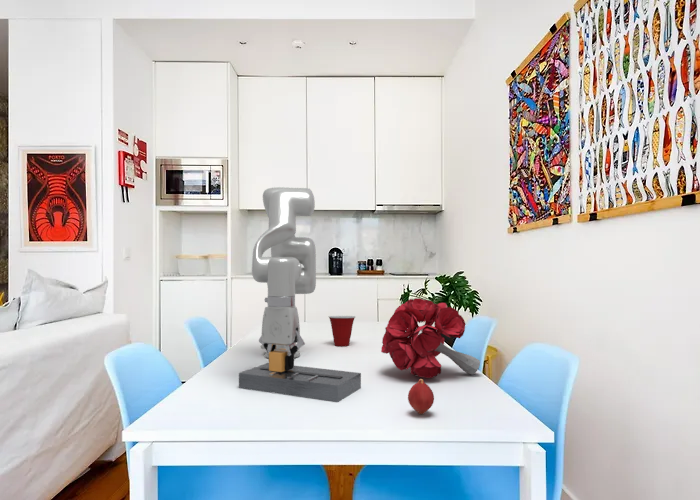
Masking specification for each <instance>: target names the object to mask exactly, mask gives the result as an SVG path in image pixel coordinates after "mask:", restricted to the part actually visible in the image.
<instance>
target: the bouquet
mask: <svg viewBox="0 0 700 500" xmlns="http://www.w3.org/2000/svg"><path fill="white" fill-rule="evenodd" d="M420 323H424V324H423V325H419V324H420ZM433 324H434V325H433ZM384 329H385V332H384V333H383V337H382V342H381V343H382V344H381V345H382V346H381V350H380V351H381V353H383V354H389V356H390V358H391V361H392V362H393V364H394V365H395V368H396V369H398V370H400V371H401V372H402V371H404V370H406V371H408V370H409V369H410V374H411V375H412V376H416V377H420V378H426V379H429V378H430V379H431V378H432V379H433V378H434V377H437V376H438V375H441V374H442V364H441V362H439V360H438V359H437V356H439V355H440V354H443V355H444V356H446V357H447V358H449V359H450V360H452V362H453V363H455V365H456V366H458V368H459V369H461V370H462V371H463V372H465V373H466V374H469V375H470V376H475V374H476V373H477V372H478V370H479V368H480V366H481V360H480V359H478V358H476V357H475V356H472V355H469V354H467V353H464V352H459V351H458V350H454V349H452V348H449V347H448V346H447V345H445V340H446V339H445V337H444V336H446V337H448V338H452V337H453V338H457V339H461V338H462V337H463V336H464V334H465V330H466V321H465V320H464V317H463V316H462V315H460V313H459V311H458V310H456V309H455V308H453V307H452V306H448V304H447V302H439V303H434V302H433V301H432V300H428V299H424V298H420V297H419V298H417V297H416V298H414V299H413V298H410V299H408V300H407V301H406V302H405V303H401V304H400V305H399V306H397V308H395V310H394V312H393V314H392V316H391V317H390V318H389V319H388V323H387V325H386V326H385V328H384ZM442 335H443V336H442Z"/></svg>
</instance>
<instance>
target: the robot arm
mask: <svg viewBox="0 0 700 500" xmlns="http://www.w3.org/2000/svg"><path fill="white" fill-rule="evenodd" d="M262 202H263V206H264V210H265V212H266V214H267V217H268V218H267V219H268V229H267V230H266V231H264V232H263V233H262V234H261V235H260V237H259V238H258V239H257V241H256V242H255V244H254V247H253V250H252V259H251V275H252V279H254V281H255V282H257V283H260V284H261V283H265V284H266V285H267V297H264V302H265V303H267V306H265V307H264V311H263V315H262V320H261V324H262V325H261V335H260V337H259V339H258V342H259V343H260V344H261V345H260V349H262V350H265V352H264V357H265V358H266V359H269V352H271V351H274V349H281V348H282V349H286V351H287V355H286V356H285V370H290V369H293V366H295V358H298V357H300V356H301V352H300V351H299V350H300V348H302V347H303V346H304V345H305V344H306V343H305V341H304V339H303V338H302V336H301V329H300V327H301V326H300V316H299V312H298V308H297V306H296V295H310V294H312V293H314V292H315V290H316V286H317V285H316V284H317V258H316V257H317V254H316V244H315V241H314V240H313V239H312V238H310V237H304V236H303V237H302V236H299V237H297V236H296V232H297V223H296V221H297V218H296V217H311V216H312V215H313V214H314V212H315V206H316V205H315V202H316V201H315V196H314V193H313V191H312V189H311V188H308V187H284V186H283V187H280V186H279V187H270V188H266V189H264V191H263V194H262ZM269 249H270V255H271V256H263V254H264V253H265V252H266V251H267V250H269ZM302 266H303V267H302Z"/></svg>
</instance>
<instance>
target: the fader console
mask: <svg viewBox="0 0 700 500" xmlns="http://www.w3.org/2000/svg"><path fill="white" fill-rule="evenodd" d="M361 377H362V373H361V372H356V371H355V372H354V371H345V370H337V369H327V368H319V367H311V366H309V367H308V366H304V365H303V366H301V365H294V366H293V369H290V370H285V371H283V372H277V371H269V362H267V363H264V364H261V365H258V366H255V367H252V368H250V369H245V370H244V371H240V372H239V373H238V388H239V389H243V390H251V389H252V390H253V391H259V392H266V393H272V394H279V395H288V396H292V397H299V398H300V397H302V398H307V399H315V400H322V401H329V402H334V403H335V402H336V403H338V402H340V401H342V400H344V399H345V398H347V397H349V396H350V395H351V394H353V393H355V392H357V391H358V390H359V389H361V388H362V378H361ZM252 390H251V391H252Z"/></svg>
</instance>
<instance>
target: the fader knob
mask: <svg viewBox="0 0 700 500" xmlns="http://www.w3.org/2000/svg"><path fill="white" fill-rule="evenodd" d="M286 355H287V351H286V349H282V348H281V349H274V351H271V352H269V358H268V363H269V371H277V372H283V371H285V356H286Z"/></svg>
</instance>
